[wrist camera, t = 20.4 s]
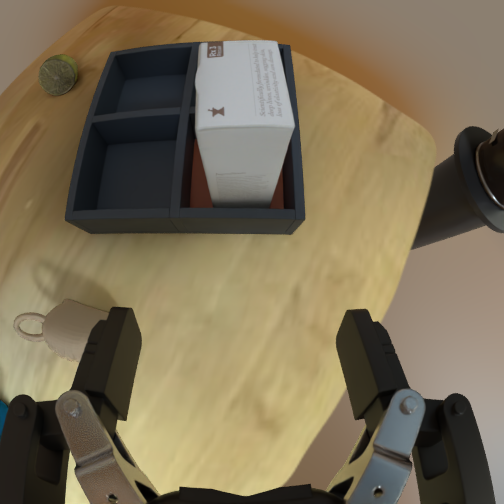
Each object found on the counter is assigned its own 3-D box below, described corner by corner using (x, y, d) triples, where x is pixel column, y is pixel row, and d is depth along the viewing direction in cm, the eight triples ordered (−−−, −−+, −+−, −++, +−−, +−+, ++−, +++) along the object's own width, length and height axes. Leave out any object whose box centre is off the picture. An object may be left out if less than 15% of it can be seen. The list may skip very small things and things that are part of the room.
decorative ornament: (124, 367, 21) (97, 383, 16) (45, 334, 21) (10, 339, 15) (133, 320, 22) (107, 326, 16) (53, 291, 21) (17, 288, 16)
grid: (282, 75, 26) (290, 44, 22) (292, 234, 24) (305, 219, 19) (122, 79, 25) (110, 52, 21) (90, 233, 23) (64, 220, 18)
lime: (87, 82, 25) (72, 54, 20) (53, 107, 24) (34, 83, 19) (77, 66, 25) (63, 40, 20) (46, 89, 25) (28, 66, 20)
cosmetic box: (269, 214, 23) (306, 131, 11) (211, 218, 23) (192, 134, 11) (262, 145, 24) (285, 38, 12) (209, 148, 24) (197, 39, 12)
